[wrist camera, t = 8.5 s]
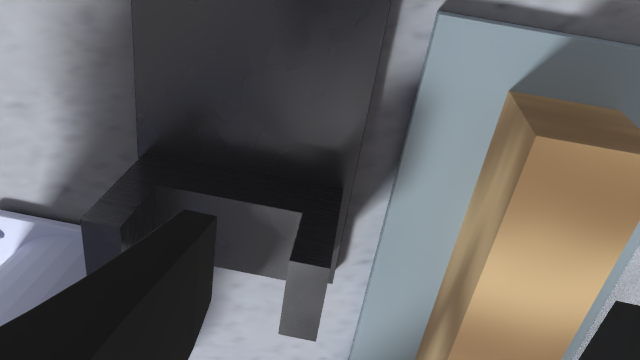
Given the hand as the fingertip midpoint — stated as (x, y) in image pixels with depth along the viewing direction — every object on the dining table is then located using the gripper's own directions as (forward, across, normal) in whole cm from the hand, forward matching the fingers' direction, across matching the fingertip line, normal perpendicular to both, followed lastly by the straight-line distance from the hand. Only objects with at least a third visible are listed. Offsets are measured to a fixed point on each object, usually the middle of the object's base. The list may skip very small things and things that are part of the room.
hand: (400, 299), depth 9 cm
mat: (+9, -5, +6) cm, 13 cm away
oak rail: (+9, -5, +6) cm, 12 cm away
